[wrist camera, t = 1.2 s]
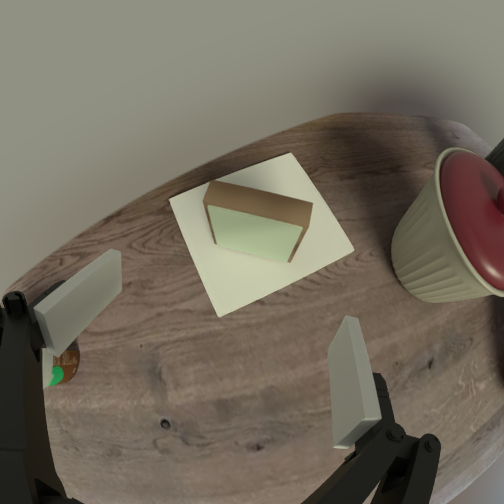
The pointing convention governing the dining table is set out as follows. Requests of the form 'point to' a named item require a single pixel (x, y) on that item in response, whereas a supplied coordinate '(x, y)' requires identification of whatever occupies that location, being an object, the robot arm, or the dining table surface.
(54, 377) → the food container
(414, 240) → the canister
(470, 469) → the dining table surface
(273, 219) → the green-topped wooden box
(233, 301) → the white flat sheet
